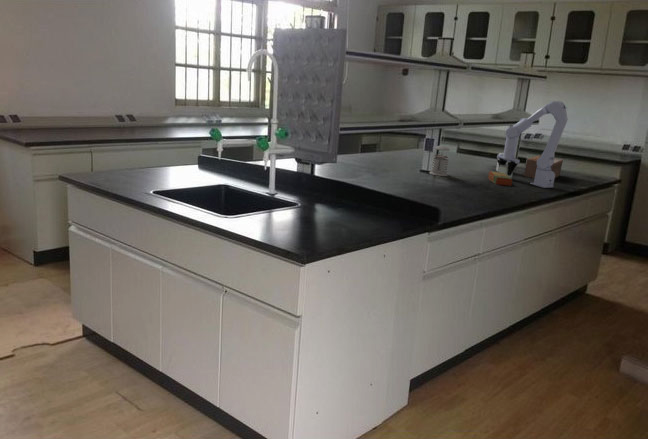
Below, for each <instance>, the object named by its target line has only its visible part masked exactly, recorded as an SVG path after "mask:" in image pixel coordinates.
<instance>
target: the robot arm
mask: <svg viewBox="0 0 648 439" xmlns="http://www.w3.org/2000/svg"><path fill="white" fill-rule="evenodd" d="M549 114H550V115H552V117H553V119H554V120H555V123H554V126H553V129H552V131H551V133H550V136H549V138H548V141H547V143H546V146H545V148H544V150H543V152H542V153H541V155H540V156H541V157H540V158H539V159H538V160H537V166H538V167H537V169H536V174H535V178H533V179H534V180H533V182H530V183H529V184H530V185H533V186H537V187H540V188H547V189H548V188H550V189H551V188H554V183H555V179H556V178H555V173H554V172H553V171H551V166H552V165H553V163H554V158H555V154H556V153H555V152H556V150H557V148H558V145H559V143H560V140H561V137H562V135H563V133H564V130H565V128H566V125H567V123H568V120H569V119H568V114H567V107H566V104H565V103H564V102H563V101H561V100H552V101H550V102H549V103H547V104H545V105H544V106H542V107H540V108H539V109H538V110H537V111H535V112H533V114H532V115H530V116H529V117H523V118H520V119H519V121H518V122H517V123H513V124H512V126H509V127H508V128H507V129H506V130H505V135H506V137H505V143H504V150H503V153H504V154H503V156H502V155H499V154H497V156H496V159H497V161H498V164H499V167H500V165H506V162H507V161H510V162H508V175H511V174H512V172H514V170H515V168H516V167H517V166H518V165H519V164H520V159H518V158H515V154H516V148H517V142H518V137H520V135H521V134H523V133H524V132H525V131H526V130H528V129H529V128H531V127H532V123H534V122H535V121H537V120H538V119H540V118H542V117H543V116H545V115H549ZM498 159H499V160H498ZM507 159H508V160H507ZM512 175H513V174H512Z"/></svg>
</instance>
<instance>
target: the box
mask: <svg viewBox="0 0 648 439" xmlns="http://www.w3.org/2000/svg"><path fill="white" fill-rule="evenodd" d="M499 172H500V173H505V174H506V175H507V176H509V177H510V178H511V179H513V172H514V171H513V172H512V174H511V175H508V165H500V167H499Z"/></svg>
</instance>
